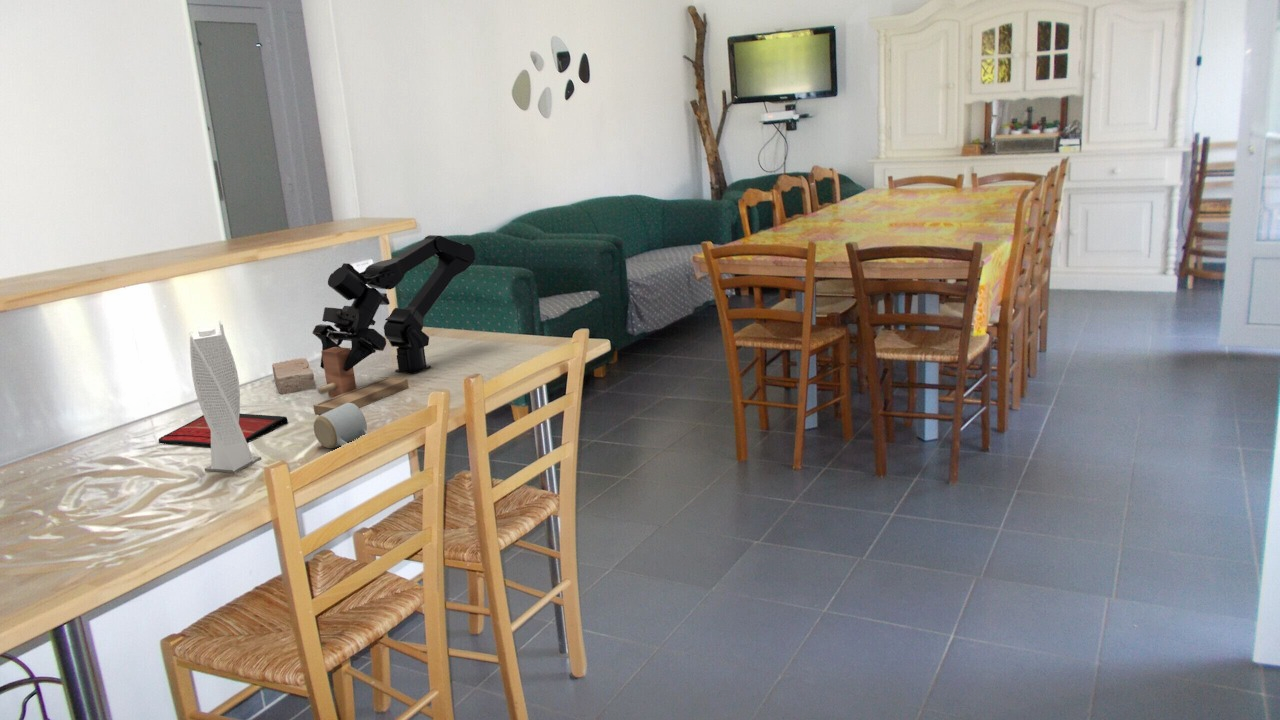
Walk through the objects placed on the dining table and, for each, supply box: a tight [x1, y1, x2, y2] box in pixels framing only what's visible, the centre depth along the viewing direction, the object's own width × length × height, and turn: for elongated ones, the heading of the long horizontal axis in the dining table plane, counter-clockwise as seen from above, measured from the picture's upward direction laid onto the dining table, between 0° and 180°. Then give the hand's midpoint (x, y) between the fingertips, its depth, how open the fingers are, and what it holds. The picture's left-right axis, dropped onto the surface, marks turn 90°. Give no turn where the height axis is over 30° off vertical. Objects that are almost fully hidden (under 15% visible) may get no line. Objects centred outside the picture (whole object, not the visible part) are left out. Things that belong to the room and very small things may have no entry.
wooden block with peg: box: [317, 346, 358, 399], centre depth 213 cm, size 8×5×11 cm, turn 149°
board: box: [313, 376, 409, 416], centre depth 211 cm, size 22×6×2 cm, turn 149°
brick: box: [271, 357, 316, 395], centre depth 229 cm, size 17×8×5 cm, turn 25°
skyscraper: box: [188, 319, 262, 474], centre depth 172 cm, size 8×8×28 cm
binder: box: [158, 413, 289, 448], centre depth 195 cm, size 16×2×21 cm
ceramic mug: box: [313, 403, 368, 449], centre depth 182 cm, size 10×8×7 cm
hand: (333, 369), depth 213 cm, fingers open, 7 cm apart
